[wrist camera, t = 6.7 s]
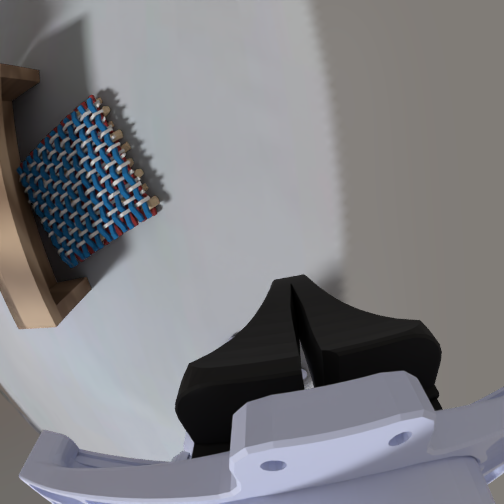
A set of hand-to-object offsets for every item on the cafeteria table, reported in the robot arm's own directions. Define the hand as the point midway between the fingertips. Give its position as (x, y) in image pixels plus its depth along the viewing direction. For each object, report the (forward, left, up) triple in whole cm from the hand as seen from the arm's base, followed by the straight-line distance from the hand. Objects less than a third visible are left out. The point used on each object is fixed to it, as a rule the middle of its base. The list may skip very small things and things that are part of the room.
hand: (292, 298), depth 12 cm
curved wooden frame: (-8, +19, -9) cm, 23 cm away
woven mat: (-5, +15, -10) cm, 19 cm away
